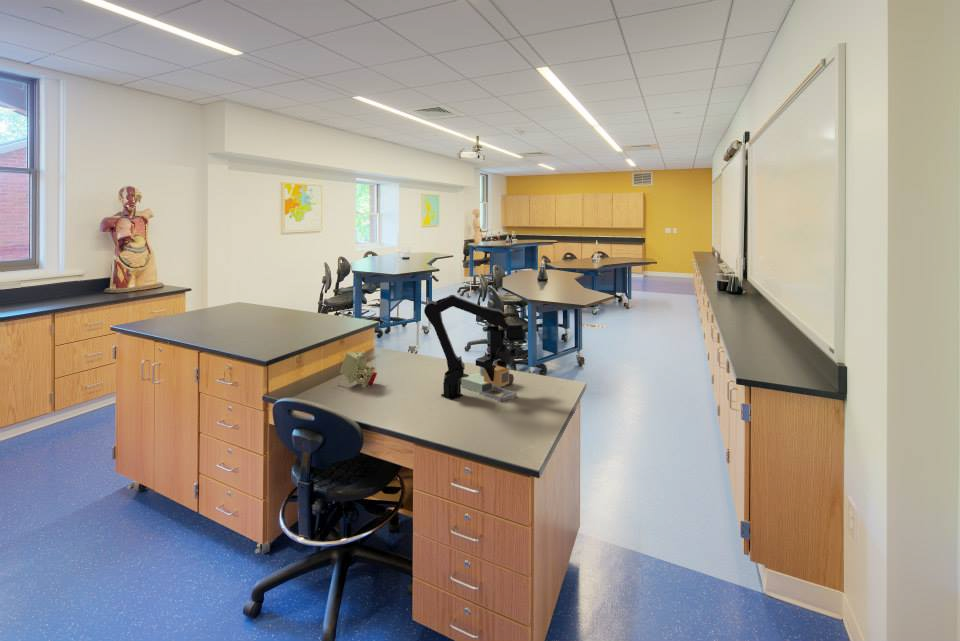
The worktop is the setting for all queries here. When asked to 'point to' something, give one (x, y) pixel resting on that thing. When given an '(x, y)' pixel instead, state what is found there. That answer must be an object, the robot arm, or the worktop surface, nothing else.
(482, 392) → the bracket
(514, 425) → the worktop surface
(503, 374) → the tan wooden brick
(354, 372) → the mechanical component
